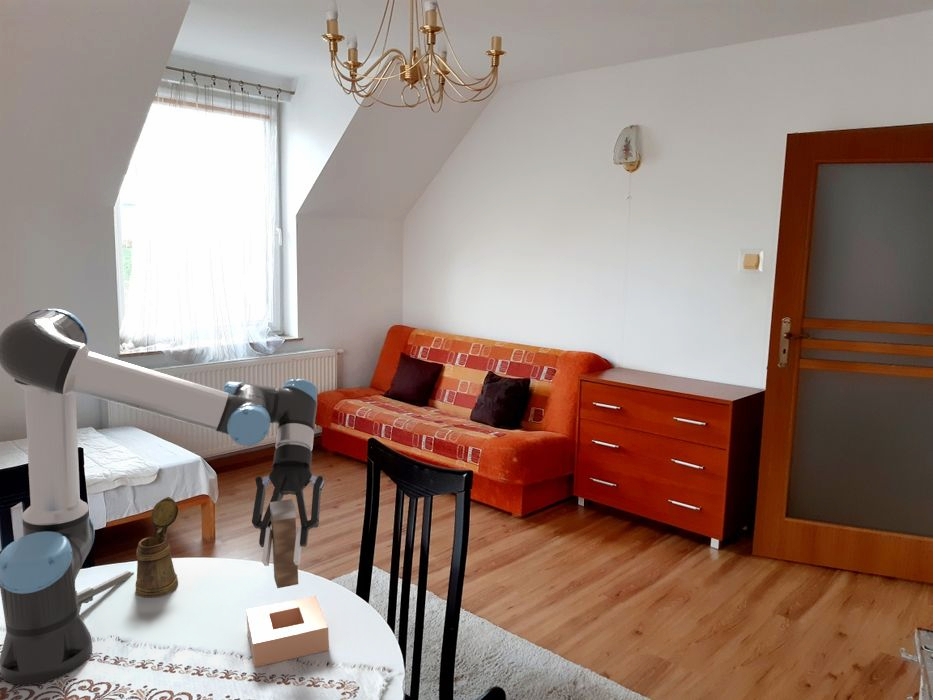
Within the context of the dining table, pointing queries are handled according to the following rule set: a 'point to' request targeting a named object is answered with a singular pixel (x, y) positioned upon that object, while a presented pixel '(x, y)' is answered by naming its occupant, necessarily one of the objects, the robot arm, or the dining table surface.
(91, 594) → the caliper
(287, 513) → the silver-capped wooden peg
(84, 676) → the dining table surface
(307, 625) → the terracotta holder
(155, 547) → the wooden mug
